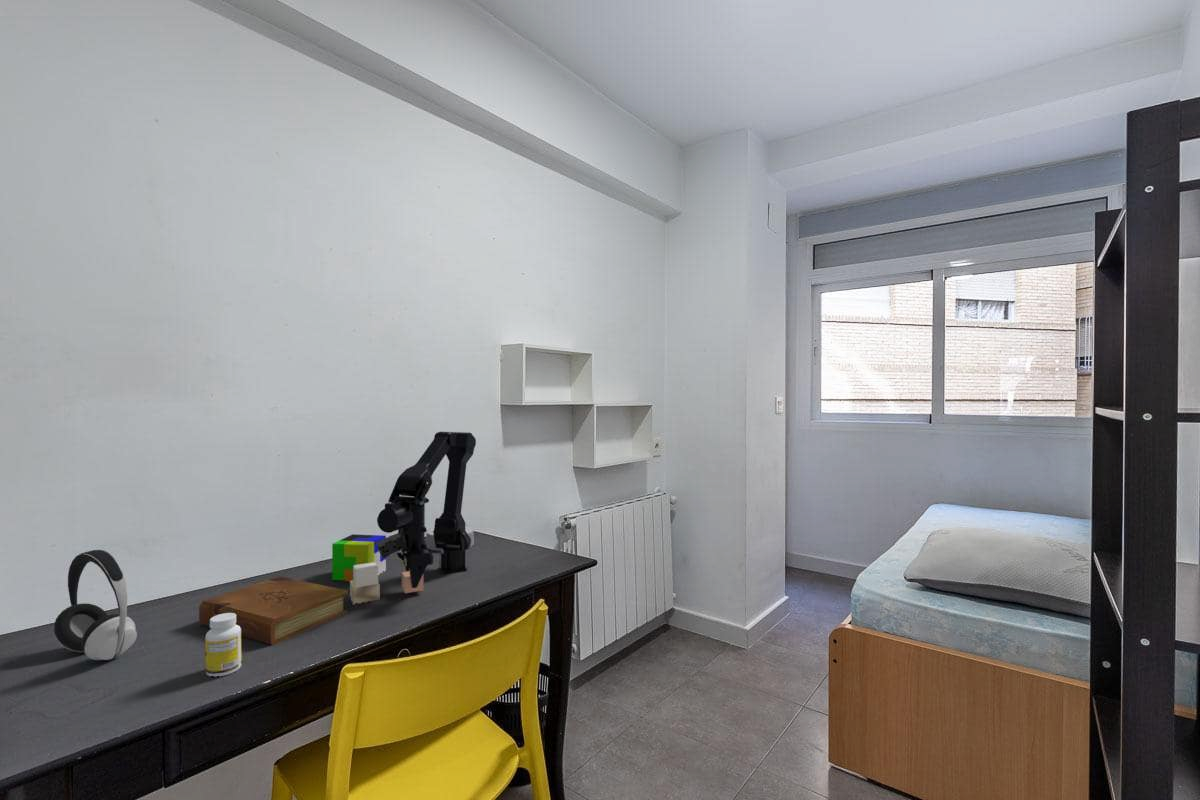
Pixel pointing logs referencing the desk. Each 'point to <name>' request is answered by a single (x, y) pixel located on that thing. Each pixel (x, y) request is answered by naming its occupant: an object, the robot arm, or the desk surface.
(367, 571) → the tower top
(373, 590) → the tower base
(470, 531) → the grey bowl
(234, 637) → the supplement bottle
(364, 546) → the puzzle toy
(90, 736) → the desk surface
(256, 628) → the diary
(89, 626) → the headphones
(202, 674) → the desk surface
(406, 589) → the cube
